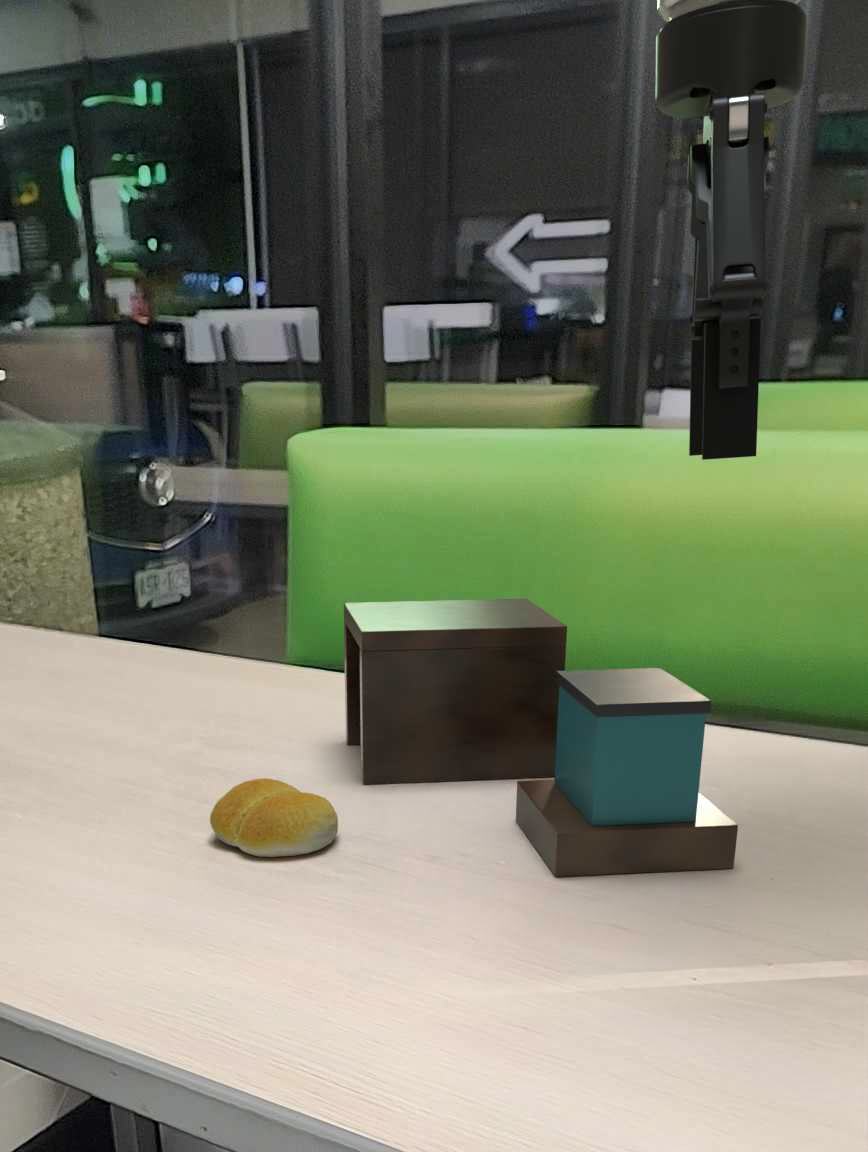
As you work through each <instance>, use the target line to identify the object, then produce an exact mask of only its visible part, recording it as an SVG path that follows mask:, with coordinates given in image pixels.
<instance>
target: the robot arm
mask: <svg viewBox="0 0 868 1152" xmlns="http://www.w3.org/2000/svg"><path fill="white" fill-rule="evenodd" d="M801 1H802V0H657V15H659V16H660V18H661V19H662V20H663V21H665V22H666V23H665V24H663V26H661V28H660V30H659V32H658V33H657V35H656V37H655V104H656V106H657V108H658V110H659V111H660V112H661V113H663V114H664V115H666V116H669V117H673V118H679V119H689V118H694V117H696V118H698V119H700V120H702V121H703V131H702V143H695V144H690V153H689V154H688V155H687V172H686V173H687V174H686V175H687V178H686V179H687V189H688V191H689V193H690V203H689V204H690V206H689V226H690V227H689V229H690V230H689V231H690V235H691V236H692V237H693V239H694V242H693V263H692V265H693V267H692V289H691V290H692V292H691V313H690V315H689V316H688V325H689V327H690V335H692V340H691V341H690V380H689V381H690V385H689V386H690V387H689V389H690V390H689V445H688V446H689V447H688V449H689V450H688V455H689V457H690V456H691V457H693V456H701V460H702V461H704V460H720V459H736V458H749V457H757V447H758V446H757V445H758V442H757V441H758V417H759V415H758V414H759V413H758V412H759V388H760V386H759V385H760V359H761V358H760V357H761V355H760V354H761V332H762V331H761V329H762V328H761V326H762V324H761V323H762V318H760V315H761V310H762V308H764V297H765V293H767V290H768V288H769V287H768V286H769V279H768V278H767V276H766V217H765V214H766V213H765V212H766V210H765V209H766V208H765V207H766V206H765V205H766V204H765V201H766V193H767V176H766V175H767V172H768V167H769V158H770V157H769V156H770V137H769V136H765V114H767V113H768V109H771V108H774V107H777V106H780V105H783V104H785V103H787V102H788V101H791V100H792V99H793V98H795V97H796V96H797V95H798V94H799V93H800V92H801V90H802V88H803V86H804V82H805V65H806V64H805V61H806V42H807V41H806V40H807V14H806V13H805V12H804V11H803V8H802V7H801V6H799V5H798V4H799V3H801ZM752 317H757V318H752Z"/></svg>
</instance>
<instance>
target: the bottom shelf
mask: <svg viewBox="0 0 868 1152" xmlns="http://www.w3.org/2000/svg"><path fill="white" fill-rule="evenodd" d="M515 801H516V802H515V803H516V804H515V822H516V823H517V825H518V826H519V827H520V829H521V830H522V831H523V833H524V834H525V836H526V837H527V838H528V840H529V841H530V843H531V844H532V846H533V847H534V848H535V850H536V851H537V853H538V854H539V856H540V857H541V858H542V860H543V861H544V863H545V865H546V866H547V868H549V870H550V871H551V873H552V875H554V877H556V878H559V877H562V878H563V877H580V876H601V875H602V876H603V875H604V876H605V875H620V874H621V875H622V874H623V875H625V874H642V873H643V874H644V873H646V874H647V873H661V872H662V873H664V872H683V871H684V872H685V871H687V872H688V871H704V870H707V871H708V870H726V869H734V866H735V858H736V850H737V849H736V848H737V841H738V840H737V839H738V832H739V831H738V829H739V824H737V823H736V821H734V820H733V819H731V818H730V817H729V815H727V814H726V813H724V812H723V811H722V810H721V809H719V808H718V807H717V806H716V805H715V804H714V803H713V802H711V801H710V800H709V799H708V798H707V797H705V796H704V795H703V794H702V793H700V792H699V793H698V804H697V814H696V822H677V823H654V824H631V825H609V826H591V825H590V824H589V822H588V821H587V820H586V819H585V818H584V817H583V816H582V814H581V813H580V812H579V811H578V810H577V809H576V807H575V806H574V805H573V804H572V803H571V802H570V800H569V799H568V798H567V797H566V796H565V795H564V794H563V792H562V791H561V790H560V789H559V788H558V787H557V785H556V784H555V779H536V780H535V779H534V780H533V779H532V780H517V782H516V800H515Z"/></svg>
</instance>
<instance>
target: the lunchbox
mask: <svg viewBox="0 0 868 1152" xmlns="http://www.w3.org/2000/svg"><path fill="white" fill-rule="evenodd" d="M556 683H558V684H559V702H558V722H557V742H556V763H555V777H554V780H555V784H556V785H557V787H558V788H559V789H560V790H561V791H562V792H563V794H564V795H565V796H566V797H567V798H568V799H569V800H570V802H571V803H572V804H573V805H574V806H575V807H576V809H577V810H578V811H579V812H580V813H581V814H582V816H583V817H584V818H585V819H586V820H587V821H588V822H589V824H590V825H591V826H609V825H631V824H654V823H677V822H696V814H697V804H698V793H700V782H701V772H702V762H703V751H704V750H703V749H704V739H705V730H706V720H707V714H711V713H712V712H711V711H712V702H713V701H712V700H711V699H709V698H708V697H706V696H704V694H702V693H700V692H698V691H697V690H695V689H694V688H692V687H691V686H689V685H687V684H686V683H684V682H683V681H682V680H679V678H677V677H675V676H673V675H672V674H671V673H669V672H667V671H666V670H664V669H662V668H661V667H637V668H635V667H634V668H608V669H607V668H606V669H604V668H603V669H602V668H601V669H576V670H575V669H574V670H572V669H571V670H570V669H569V670H565V671H557V672H556Z"/></svg>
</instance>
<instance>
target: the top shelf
mask: <svg viewBox="0 0 868 1152" xmlns="http://www.w3.org/2000/svg"><path fill="white" fill-rule="evenodd" d="M567 641H568V626H567V625H566V624H565V623H563V622H562V621H560V620H559V619H558V618H556V617H555V616H553V615H551V614H550V613H549V612H547V611H546V610H544V609H543V608H541V607H540V606H539V605H538V604H535V602H533V601H532V600H530V599H528V598H491V599H490V598H489V599H487V598H485V599H484V598H483V599H449V600H448V599H445V600H410V601H408V600H406V601H403V600H402V601H370V602H365V601H364V602H344V603H343V642H344V644H343V646H344V648H343V649H344V652H343V653H344V654H343V655H344V707H345V708H344V712H345V714H344V715H345V742H346V744H347V745H349V746H350V745H360V780H361V782H362V784H363V785H382V784H383V785H384V784H406V783H407V784H409V783H412V784H413V783H431V782H432V783H433V782H434V783H435V782H436V783H437V782H457V781H458V782H461V781H483V780H484V781H485V780H508V779H511V780H513V779H535V778H555V763H556V742H557V722H558V702H559V684H558V683H556V672H557V671H566V658H567Z"/></svg>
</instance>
